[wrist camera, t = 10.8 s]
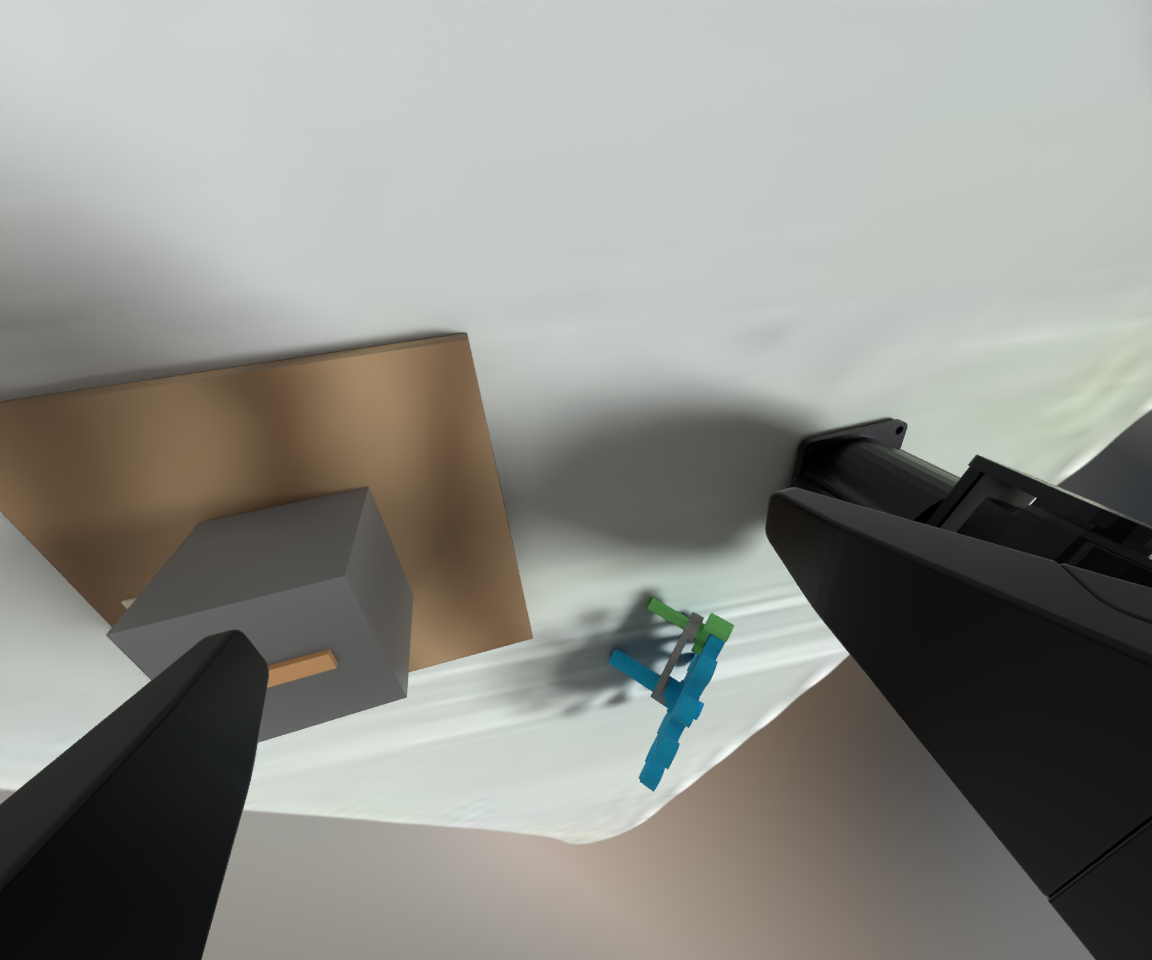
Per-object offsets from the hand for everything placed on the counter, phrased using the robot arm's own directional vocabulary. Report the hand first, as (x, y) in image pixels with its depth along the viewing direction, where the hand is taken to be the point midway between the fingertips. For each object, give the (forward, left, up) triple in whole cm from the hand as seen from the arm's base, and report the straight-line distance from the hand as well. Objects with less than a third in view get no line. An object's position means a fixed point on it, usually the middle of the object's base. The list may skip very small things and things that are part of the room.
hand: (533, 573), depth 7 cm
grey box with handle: (+8, +6, -11) cm, 15 cm away
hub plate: (+8, +6, -12) cm, 16 cm away
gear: (-8, +20, -12) cm, 24 cm away
